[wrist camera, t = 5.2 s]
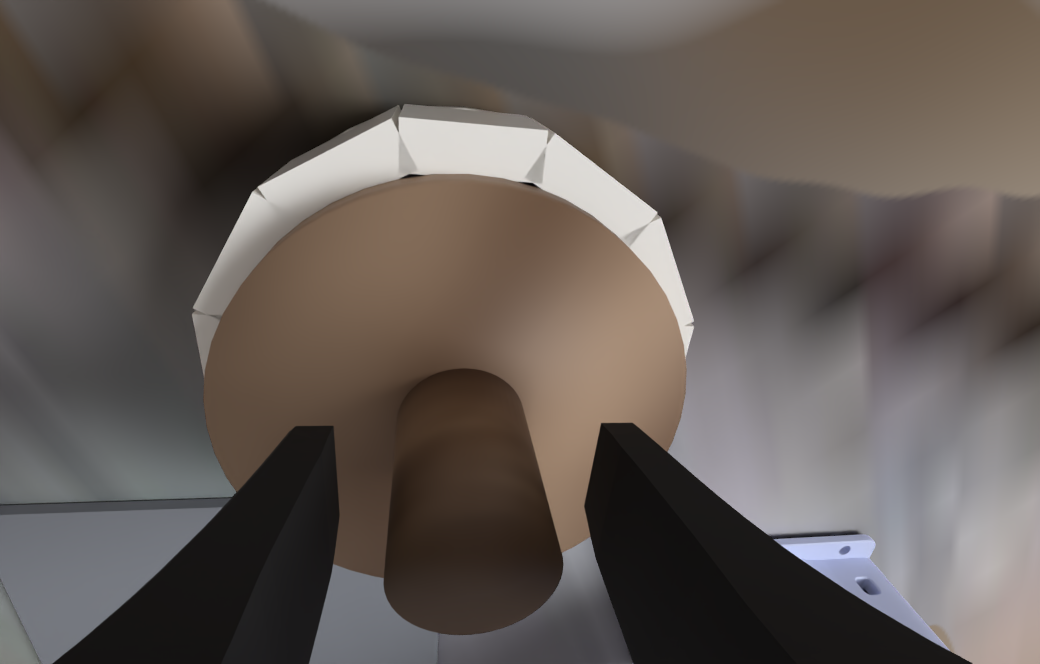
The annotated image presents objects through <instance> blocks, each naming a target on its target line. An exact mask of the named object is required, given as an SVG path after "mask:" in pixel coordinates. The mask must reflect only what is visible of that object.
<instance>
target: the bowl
mask: <svg viewBox="0 0 1040 664" xmlns="http://www.w3.org/2000/svg"><path fill="white" fill-rule="evenodd" d="M431 174H474V175H482V176H490V177H498V178H505V179H508V180H512V181H516V182H520V183H523V184H527V185H531V186H534V187H537V188H540V189H542V190H545V191H547V192H549V193H552V194H554V195H556V196H559V197H561V198H563V199H566V200H568V201H569V202H571V203H573V204H574V205H576V206H578V207H579V208H581V209H583V210H584V211H586V212H588V213H589V214H591V215H592V216H594V217H595V218H596V219H597V220H599V221H600V222H601V223H602V224H603V225H605V226H606V227H607V228H608V229H610V230H611V231H612V232H613V233H614V234H616V235H617V236H618V237H619V238H620V239H621V240H622V241H623V242H624V243H625V244H626V245H627V246H628V247H629V248H630V249H631V250H632V251H633V252H634V253H635V255H636V256H637V257H638V258H639V259H640V260H641V261H642V262H643V263H644V264H645V266H646V267H647V268H648V269H649V270H650V271H651V273H652V274H653V276H654V277H655V279H656V280H657V282H658V283H659V285H660V286H661V288H662V289H663V291H664V292H665V294H666V296H667V298H668V300H669V302H670V305H671V307H672V309H673V311H674V314H675V316H676V318H677V321H678V325H679V328H680V332H681V336H682V340H683V343H684V351H685V357H686V354H687V350H688V347H689V343H690V339H691V336H692V332H693V328H694V326H693V325H692V324H691V322H693V321H694V320H693V317H692V313H691V310H690V307H689V304H688V301H687V298H686V295H685V291H684V288H683V285H682V282H681V279H680V276H679V272H678V269H677V266H676V263H675V260H674V257H673V254H672V250H671V247H670V244H669V241H668V238H667V235H666V232H665V228H664V225H663V222H662V219H661V217H660V216H658V215H657V212H656V211H655V210H654V209H652V208H651V207H650V206H648V205H647V204H646V203H645V202H643V201H642V200H641V199H639V198H638V197H637V196H636V195H634V194H633V193H632V192H630V191H629V190H628V189H627V188H625V187H624V186H623V185H621V184H620V183H619V182H617V181H616V180H615V179H614V178H612V177H611V176H610V175H608V174H607V173H606V172H605V171H603V170H602V169H601V168H599V167H598V166H597V165H596V164H594V163H593V162H592V161H590V160H589V159H588V158H587V157H585V156H584V155H583V154H581V153H580V152H579V151H577V150H576V149H575V148H574V147H572V146H571V145H570V144H568V143H567V142H566V141H565V140H563V139H562V138H561V137H559V136H558V135H557V134H556V133H554V132H553V131H551V130H549V129H548V128H546V127H545V126H543V125H542V124H540V123H539V122H537V121H535V120H534V119H532V118H529V117H527V116H526V115H517V114H506V113H496V112H493V111H487V110H481V109H475V108H469V107H459V106H422V105H411V104H404V106H403V109H402V110H401V109H400V107H399V105H398V106H396V107H394V108H392V109H390V110H388V111H386V112H384V113H382V114H380V115H378V116H376V117H374V118H372V119H370V120H368V121H365V122H363V123H361V124H358V125H356V126H354V127H351V128H349V129H347V130H346V131H344V132H342V133H341V134H339V135H337V136H336V137H334V138H333V139H331V140H329V141H328V142H326V143H324V144H322V145H320V146H318V147H316V148H314V149H312V150H310V151H308V152H306V153H304V154H302V155H300V156H298V157H296V158H295V159H293V160H291V161H290V162H288V163H287V164H286V165H285V166H283V167H282V168H281V169H279V170H278V171H277V172H276V173H274V174H273V175H272V176H271V177H269V178H268V179H267V180H266V181H264V182H263V183H262V184H260V185H259V186H258V188H257V189H255V190H254V191H253V192H252V194H251V195H250V197H249V199H248V201H247V203H246V205H245V207H244V209H243V211H242V213H241V215H240V217H239V219H238V221H237V223H236V225H235V227H234V229H233V231H232V233H231V234H230V236H229V238H228V240H227V242H226V244H225V246H224V248H223V250H222V252H221V254H220V256H219V258H218V260H217V262H216V264H215V266H214V268H213V270H212V271H211V273H210V275H209V277H208V279H207V281H206V283H205V285H204V287H203V289H202V291H201V293H200V295H199V297H198V299H197V301H196V303H195V305H194V307H193V309H196V310H195V311H194V312H193V314H192V318H193V323H194V328H195V333H196V338H197V344H198V349H199V354H200V359H201V364H202V370H203V375H205V368H206V363H207V359H208V354H209V350H210V345H211V341H212V339H213V337H214V334H215V332H216V329H217V327H218V324H219V322H220V320H221V317H222V315H223V313H224V311H225V310H226V308H227V306H228V305H229V303H230V302H231V300H232V298H233V297H234V295H235V294H236V292H237V290H238V289H239V287H240V286H241V284H242V283H243V282H244V281H245V279H246V278H247V277H248V276H249V274H250V273H251V272H252V271H253V269H254V268H255V267H256V266H257V265H258V263H259V262H260V261H261V260H262V259H263V258H264V257H265V255H266V254H267V253H268V252H269V251H270V250H271V249H272V247H273V246H274V245H275V244H276V243H277V242H278V241H279V240H280V239H282V238H283V237H284V236H285V235H286V234H287V233H289V232H290V231H291V230H292V229H293V228H295V227H296V226H297V225H298V224H299V223H301V222H302V221H303V220H305V219H306V218H308V217H310V216H311V215H313V214H314V213H316V212H318V211H319V210H321V209H323V208H324V207H326V206H327V205H329V204H331V203H332V202H335V201H337V200H339V199H342V198H344V197H346V196H348V195H351V194H353V193H355V192H358V191H360V190H362V189H365V188H368V187H372V186H375V185H379V184H383V183H386V182H390V181H393V180H397V179H402V178H409V177H417V176H424V175H431Z"/></svg>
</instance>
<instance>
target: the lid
mask: <svg viewBox="0 0 1040 664" xmlns="http://www.w3.org/2000/svg"><path fill="white" fill-rule="evenodd" d="M685 390H686V360H685V351H684V343H683V340H682V336H681V332H680V328H679V325H678V321H677V318H676V316H675V314H674V311H673V309H672V307H671V305H670V302H669V300H668V298H667V296H666V294H665V292H664V291H663V289H662V288H661V286H660V285H659V283H658V282H657V280H656V279H655V277H654V276H653V274H652V273H651V271H650V270H649V269H648V268H647V267H646V266H645V264H644V263H643V262H642V261H641V260H640V259H639V258H638V257H637V256H636V255H635V253H634V252H633V251H632V250H631V249H630V248H629V247H628V246H627V245H626V244H625V243H624V242H623V241H622V240H621V239H620V238H619V237H618V236H617V235H616V234H614V233H613V232H612V231H611V230H610V229H608V228H607V227H606V226H605V225H603V224H602V223H601V222H600V221H599V220H597V219H596V218H595V217H594V216H592V215H591V214H589V213H588V212H586V211H584V210H583V209H581V208H579V207H578V206H576V205H574V204H573V203H571V202H569V201H568V200H566V199H563V198H561V197H559V196H556V195H554V194H552V193H549V192H547V191H545V190H542V189H540V188H537V187H534V186H531V185H527V184H523V183H520V182H516V181H512V180H508V179H505V178H498V177H490V176H482V175H474V174H431V175H424V176H417V177H409V178H402V179H397V180H393V181H390V182H386V183H383V184H379V185H375V186H372V187H368V188H365V189H362V190H360V191H358V192H355V193H353V194H351V195H348V196H346V197H344V198H342V199H339V200H337V201H335V202H332V203H331V204H329V205H327V206H326V207H324V208H323V209H321V210H319V211H318V212H316V213H314V214H313V215H311V216H310V217H308V218H306V219H305V220H303V221H302V222H301V223H299V224H298V225H297V226H296V227H295V228H293V229H292V230H291V231H290V232H289V233H287V234H286V235H285V236H284V237H283V238H282V239H280V240H279V241H278V242H277V243H276V244H275V245H274V246H273V247H272V249H271V250H270V251H269V252H268V253H267V254H266V255H265V257H264V258H263V259H262V260H261V261H260V262H259V263H258V265H257V266H256V267H255V268H254V269H253V271H252V272H251V273H250V274H249V276H248V277H247V278H246V279H245V281H244V282H243V283H242V284H241V286H240V287H239V289H238V290H237V292H236V294H235V295H234V297H233V298H232V300H231V302H230V303H229V305H228V306H227V308H226V310H225V311H224V313H223V315H222V317H221V320H220V322H219V324H218V327H217V329H216V332H215V334H214V337H213V339H212V341H211V345H210V350H209V354H208V359H207V363H206V368H205V375H204V397H203V401H204V409H205V417H206V424H207V430H208V433H209V436H210V439H211V443H212V446H213V449H214V453H215V455H216V457H217V459H218V461H219V463H220V465H221V467H222V469H223V471H224V473H225V475H226V477H227V479H228V480H229V482H230V483H231V485H232V486H233V487H234V489H235V490H236V492H237V491H238V490H239V489H240V488H241V487H242V486H243V485H244V484H245V483H246V482H247V480H248V479H249V478H250V477H251V476H252V475H253V474H254V472H255V471H256V470H257V469H258V468H259V467H260V466H261V464H262V463H263V462H264V461H265V460H266V459H267V457H268V456H269V455H270V454H271V453H272V452H273V450H274V449H275V448H276V447H277V446H278V444H279V443H280V442H281V441H282V440H283V438H284V437H285V436H286V435H287V433H288V432H289V431H290V430H292V429H293V428H294V427H295V426H334V439H335V454H336V468H337V483H338V497H339V512H340V517H339V525H338V532H337V540H336V547H335V554H334V561H333V564H334V565H337V566H340V567H343V568H345V569H348V570H351V571H355V572H359V573H363V574H367V575H370V576H374V577H380V578H384V582H383V585H384V592H385V595H386V598H387V600H388V602H389V604H390V605H391V607H392V608H393V609H394V610H395V612H396V613H397V614H398V615H399V616H401V617H402V618H403V619H404V620H406V621H408V622H409V623H411V624H413V625H415V626H417V627H419V628H422V629H425V630H428V631H431V632H436V633H441V634H449V635H472V634H479V633H485V632H490V631H494V630H497V629H501V628H504V627H507V626H509V625H512V624H514V623H516V622H518V621H520V620H522V619H524V618H526V617H527V616H529V615H530V614H532V613H533V612H535V611H536V610H537V609H539V608H540V607H541V606H542V605H543V604H544V603H545V602H546V601H547V600H548V599H549V598H550V596H551V595H552V594H553V592H554V591H555V589H556V588H557V586H558V584H559V581H560V579H561V575H562V572H563V556H562V552H564V551H566V550H568V549H570V548H572V547H574V546H576V545H577V544H579V543H581V542H582V541H584V540H585V539H587V538H589V537H590V531H589V527H588V522H587V517H586V513H585V508H584V504H585V499H586V494H587V489H588V484H589V479H590V474H591V470H592V465H593V460H594V455H595V450H596V445H597V440H598V436H599V431H600V426H601V423H634V424H635V425H636V426H637V427H639V428H640V429H641V430H642V431H643V432H645V433H646V434H647V435H648V436H649V437H650V438H652V439H653V440H654V441H655V442H656V443H657V444H659V445H660V446H661V447H662V448H663V449H664V450H665V451H666V452H667V451H668V449H669V447H670V445H671V443H672V441H673V439H674V436H675V433H676V430H677V427H678V424H679V421H680V418H681V414H682V409H683V403H684V398H685Z"/></svg>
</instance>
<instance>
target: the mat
mask: <svg viewBox="0 0 1040 664" xmlns="http://www.w3.org/2000/svg"><path fill="white" fill-rule="evenodd" d="M230 499H231V498H218V499H186V500H155V501H124V502H93V503H62V504H31V505H0V579H1V581H2V583H3V585H4V587H5V589H6V591H7V593H8V596H9V598H10V600H11V602H12V604H13V606H14V608H15V610H16V612H17V614H18V616H19V618H20V620H21V622H22V624H23V626H24V628H25V630H26V632H27V634H28V636H29V639H30V641H31V643H32V645H33V647H34V649H35V651H36V653H37V655H38V657H39V659H40V661H41V663H42V664H52V663H54V662H55V661H56V660H57V659H59V658H60V657H61V656H62V655H63V654H65V653H66V652H67V651H68V650H70V649H71V648H72V647H73V646H75V645H76V644H77V643H78V642H80V641H81V640H82V639H83V638H84V637H86V636H87V635H88V634H89V633H90V632H91V631H93V630H94V629H95V628H96V627H97V626H98V625H100V624H101V623H102V622H103V621H104V620H105V619H107V618H108V617H109V616H110V615H111V614H112V613H114V612H115V611H116V610H117V609H118V608H119V607H120V606H122V605H123V604H124V603H125V602H126V601H127V600H128V599H129V598H131V597H132V596H133V595H134V594H135V593H136V592H137V591H138V590H139V589H141V588H142V587H143V586H144V585H145V584H146V583H147V582H148V581H149V580H150V579H151V578H153V577H154V576H155V575H156V574H157V573H158V572H159V571H160V570H161V569H162V568H163V567H164V566H165V565H166V564H167V563H168V562H169V561H170V560H171V559H172V558H173V557H174V556H175V555H176V554H177V553H178V552H179V551H180V550H181V549H182V548H183V547H184V546H185V545H186V544H188V543H189V542H190V541H191V540H192V539H193V538H194V537H195V536H196V535H197V534H198V533H199V532H200V531H201V530H202V529H203V528H204V527H205V526H206V525H207V524H208V523H209V522H210V521H211V519H212V518H213V517H214V516H215V515H216V514H217V513H218V512H219V511H220V510H221V509H222V508H223V507H224V505H225V504H226V503H227V502H228V501H229V500H230ZM383 582H384V578H380V577H374V576H370V575H367V574H363V573H359V572H355V571H351V570H348V569H345V568H343V567H340V566H337V565H334V564H333V568H332V574H331V578H330V582H329V586H328V591H327V595H326V599H325V603H324V607H323V611H322V615H321V619H320V623H319V627H318V630H317V634H316V638H315V642H314V646H313V650H312V654H311V658H310V662H309V664H437V657H438V637H439V633H436V632H431V631H428V630H425V629H422V628H419V627H417V626H415V625H413V624H411V623H409V622H408V621H406V620H404V619H403V618H402V617H401V616H399V615H398V614H397V613H396V612H395V610H394V609H393V608H392V607H391V605H390V604H389V602H388V600H387V598H386V595H385V592H384V585H383Z"/></svg>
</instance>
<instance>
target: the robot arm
mask: <svg viewBox="0 0 1040 664" xmlns="http://www.w3.org/2000/svg"><path fill="white" fill-rule="evenodd" d="M584 508H585V513H586V517H587V522H588V527H589V531H590V536H591V540H592V544H593V548H594V553H595V557H596V560H597V563H598V566H599V569H600V572H601V574H602V577H603V580H604V583H605V586H606V589H607V591H608V594H609V597H610V600H611V603H612V605H613V608H614V611H615V614H616V616H617V619H618V622H619V625H620V627H621V630H622V633H623V636H624V638H625V641H626V644H627V647H628V649H629V652H630V655H631V658H632V660H633V664H972V663H971V662H969V661H967V660H965V659H963V658H961V657H960V656H958V655H956V654H954V653H952V652H951V651H950V650H949V649H948V648H947V647H946V646H945V645H944V643H943V642H942V641H941V640H940V639H939V638H938V636H937V635H936V634H935V633H934V632H933V631H932V630H931V628H930V627H929V626H928V625H927V624H926V623H925V622H924V620H923V619H922V618H921V617H920V616H919V615H918V614H917V612H916V611H915V610H914V609H913V608H912V607H911V605H910V604H909V603H908V602H907V601H906V600H905V599H904V597H903V596H902V595H901V594H900V593H899V592H898V591H897V589H896V588H895V587H894V586H893V585H892V584H891V582H890V581H889V580H888V579H887V578H886V577H885V576H884V574H883V573H882V572H881V571H880V570H879V569H878V568H877V566H876V565H875V564H874V563H873V562H872V561H871V560H870V558H869V557H870V556H871V554H872V552H873V550H874V548H875V545H876V544H875V542H874V541H873V539H872V538H871V537H870V536H868V535H865V534H860V535H842V536H823V537H804V538H786V539H772V538H771V537H770V536H768V535H767V534H766V533H764V532H763V531H762V530H760V529H759V528H758V527H756V526H755V525H754V524H753V523H751V522H750V521H749V520H747V519H746V518H745V517H743V516H742V515H741V514H740V513H738V512H737V511H736V510H735V509H734V508H732V507H731V506H730V505H729V504H727V503H726V502H725V501H724V500H722V499H721V498H720V497H719V496H718V495H716V494H715V493H714V492H713V491H712V490H710V489H709V488H708V487H707V486H706V485H705V484H703V483H702V482H701V481H700V480H699V479H697V478H696V477H695V476H694V475H693V474H692V473H691V472H689V471H688V470H687V469H686V468H685V467H684V466H682V465H681V464H680V463H679V462H678V461H677V460H676V459H674V458H673V457H672V456H671V455H670V454H669V453H668V452H666V451H665V450H664V449H663V448H662V447H661V446H660V445H659V444H657V443H656V442H655V441H654V440H653V439H652V438H650V437H649V436H648V435H647V434H646V433H645V432H643V431H642V430H641V429H640V428H639V427H637V426H636V425H635V424H634V423H601V426H600V431H599V436H598V440H597V445H596V450H595V455H594V460H593V465H592V470H591V474H590V479H589V484H588V489H587V494H586V499H585V504H584ZM339 517H340V512H339V497H338V483H337V468H336V454H335V439H334V426H295V427H294V428H293V429H292V430H290V431H289V432H288V433H287V435H286V436H285V437H284V438H283V440H282V441H281V442H280V443H279V444H278V446H277V447H276V448H275V449H274V450H273V452H272V453H271V454H270V455H269V456H268V457H267V459H266V460H265V461H264V462H263V463H262V464H261V466H260V467H259V468H258V469H257V470H256V471H255V472H254V474H253V475H252V476H251V477H250V478H249V479H248V480H247V482H246V483H245V484H244V485H243V486H242V487H241V488H240V489H239V490H238V491H237V493H236V494H235V495H234V496H233V497H232V498H231V499H230V500H229V501H228V502H227V503H226V504H225V505H224V507H223V508H222V509H221V510H220V511H219V512H218V513H217V514H216V515H215V516H214V517H213V518H212V519H211V521H210V522H209V523H208V524H207V525H206V526H205V527H204V528H203V529H202V530H201V531H200V532H199V533H198V534H197V535H196V536H195V537H194V538H193V539H192V540H191V541H190V542H189V543H188V544H186V545H185V546H184V547H183V548H182V549H181V550H180V551H179V552H178V553H177V554H176V555H175V556H174V557H173V558H172V559H171V560H170V561H169V562H168V563H167V564H166V565H165V566H164V567H163V568H162V569H161V570H160V571H159V572H158V573H157V574H156V575H155V576H154V577H153V578H151V579H150V580H149V581H148V582H147V583H146V584H145V585H144V586H143V587H142V588H141V589H139V590H138V591H137V592H136V593H135V594H134V595H133V596H132V597H131V598H129V599H128V600H127V601H126V602H125V603H124V604H123V605H122V606H120V607H119V608H118V609H117V610H116V611H115V612H114V613H112V614H111V615H110V616H109V617H108V618H107V619H105V620H104V621H103V622H102V623H101V624H100V625H98V626H97V627H96V628H95V629H94V630H93V631H91V632H90V633H89V634H88V635H87V636H86V637H84V638H83V639H82V640H81V641H80V642H78V643H77V644H76V645H75V646H73V647H72V648H71V649H70V650H68V651H67V652H66V653H65V654H63V655H62V656H61V657H60V658H59V659H57V660H56V661H55V662H54V663H52V664H309V662H310V658H311V654H312V650H313V646H314V642H315V638H316V634H317V630H318V627H319V623H320V619H321V615H322V611H323V607H324V603H325V599H326V595H327V591H328V586H329V582H330V578H331V574H332V568H333V561H334V554H335V547H336V540H337V532H338V525H339Z"/></svg>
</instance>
